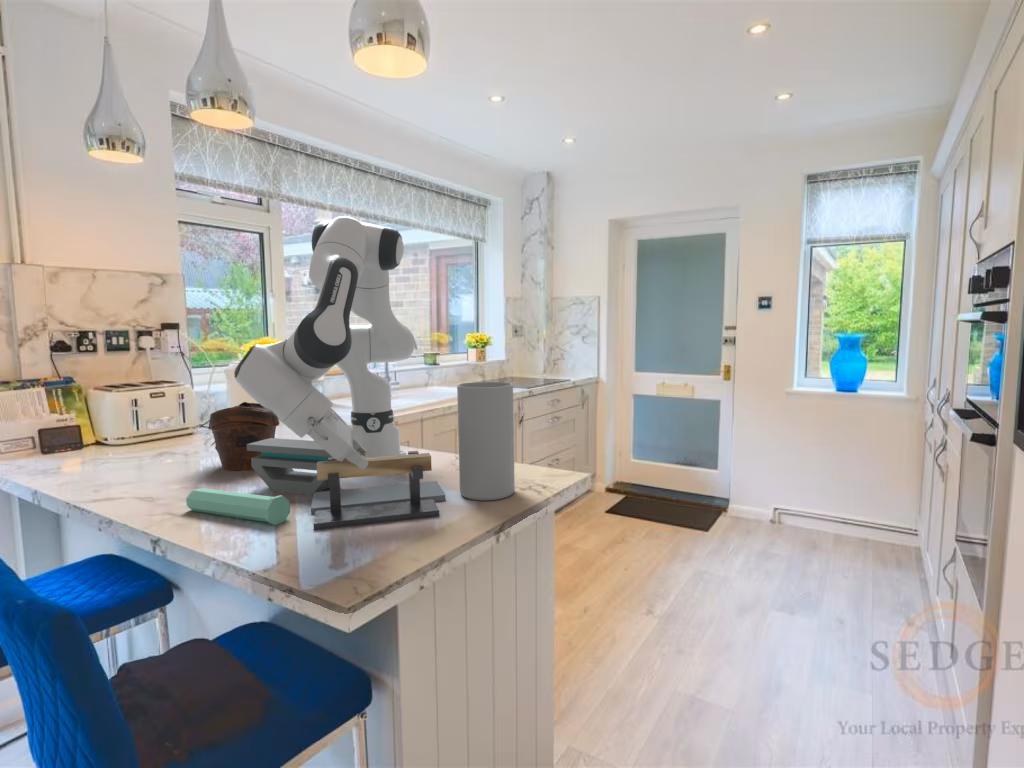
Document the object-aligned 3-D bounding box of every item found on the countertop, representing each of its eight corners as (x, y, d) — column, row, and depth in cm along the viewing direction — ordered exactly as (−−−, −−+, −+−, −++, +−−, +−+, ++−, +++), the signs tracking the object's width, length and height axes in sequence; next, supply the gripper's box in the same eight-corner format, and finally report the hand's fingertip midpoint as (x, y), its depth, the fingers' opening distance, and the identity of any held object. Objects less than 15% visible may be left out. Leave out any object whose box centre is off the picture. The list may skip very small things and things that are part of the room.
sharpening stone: (249, 488, 136) (246, 444, 135) (273, 480, 143) (270, 438, 142) (335, 497, 128) (333, 450, 127) (356, 488, 135) (354, 443, 134)
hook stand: (315, 516, 115) (312, 458, 114) (433, 504, 122) (431, 449, 120) (313, 529, 107) (310, 468, 106) (439, 516, 114) (437, 457, 113)
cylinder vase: (521, 487, 133) (519, 382, 130) (504, 503, 121) (502, 388, 119) (472, 484, 137) (469, 381, 134) (451, 499, 125) (448, 387, 122)
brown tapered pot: (261, 453, 174) (256, 396, 172) (294, 463, 161) (290, 401, 159) (199, 466, 160) (194, 403, 158) (230, 478, 147) (225, 410, 145)
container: (184, 483, 120) (271, 493, 109) (208, 487, 125) (293, 497, 115) (176, 511, 118) (264, 525, 108) (201, 514, 123) (286, 527, 113)
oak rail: (318, 476, 111) (317, 461, 111) (429, 467, 117) (429, 452, 117) (317, 480, 108) (316, 465, 108) (431, 470, 115) (431, 456, 114)
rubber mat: (314, 497, 128) (313, 492, 128) (436, 485, 136) (436, 480, 136) (311, 514, 116) (310, 508, 116) (445, 500, 124) (445, 494, 124)
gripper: (320, 410, 99) (379, 460, 103) (324, 396, 118) (373, 439, 122) (294, 436, 98) (355, 486, 102) (302, 419, 118) (353, 461, 121)
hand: (365, 460), depth 112 cm, fingers open, 8 cm apart
